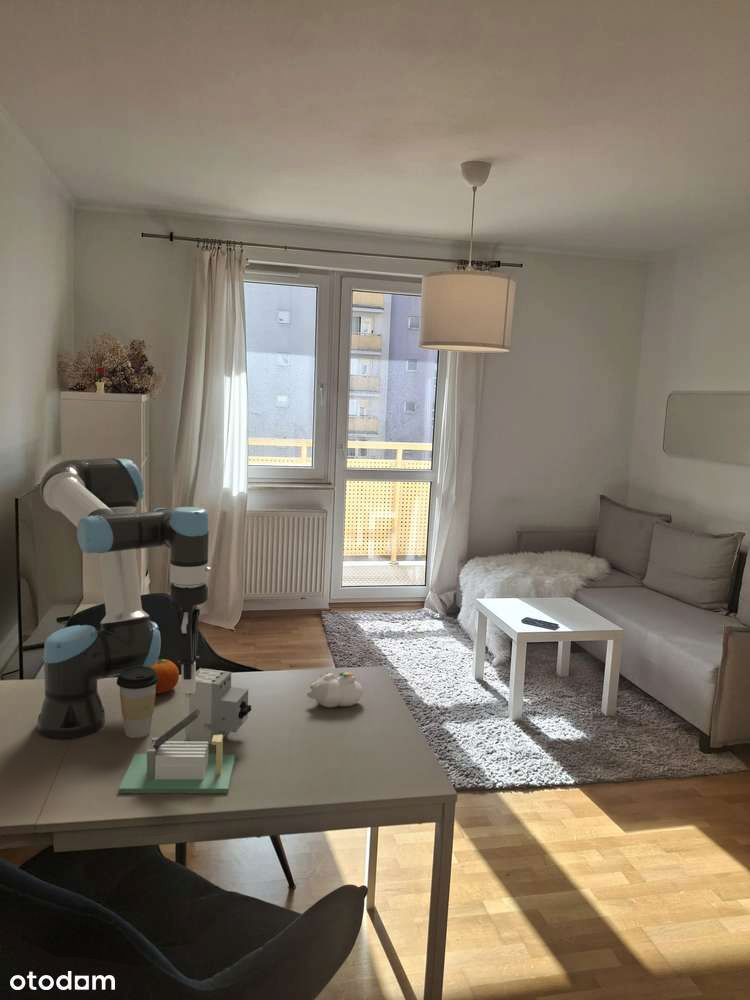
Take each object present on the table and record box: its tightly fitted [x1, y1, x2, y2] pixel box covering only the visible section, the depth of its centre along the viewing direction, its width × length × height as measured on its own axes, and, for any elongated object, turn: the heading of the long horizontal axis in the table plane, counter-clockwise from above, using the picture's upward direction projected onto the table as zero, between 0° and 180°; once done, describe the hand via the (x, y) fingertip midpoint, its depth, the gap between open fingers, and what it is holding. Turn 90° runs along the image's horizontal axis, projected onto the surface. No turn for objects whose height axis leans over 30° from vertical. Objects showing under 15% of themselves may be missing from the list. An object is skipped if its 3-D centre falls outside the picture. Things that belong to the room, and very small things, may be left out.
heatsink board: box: [118, 735, 236, 794], centre depth 157 cm, size 22×14×8 cm, turn 95°
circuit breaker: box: [184, 667, 252, 745], centre depth 174 cm, size 8×14×15 cm, turn 78°
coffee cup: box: [116, 666, 159, 739], centre depth 174 cm, size 9×9×15 cm
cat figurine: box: [306, 671, 364, 708], centre depth 195 cm, size 10×8×15 cm
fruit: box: [151, 658, 180, 694], centre depth 198 cm, size 11×10×8 cm
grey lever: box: [149, 709, 200, 749], centre depth 156 cm, size 13×3×1 cm
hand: (188, 691), depth 155 cm, fingers closed
